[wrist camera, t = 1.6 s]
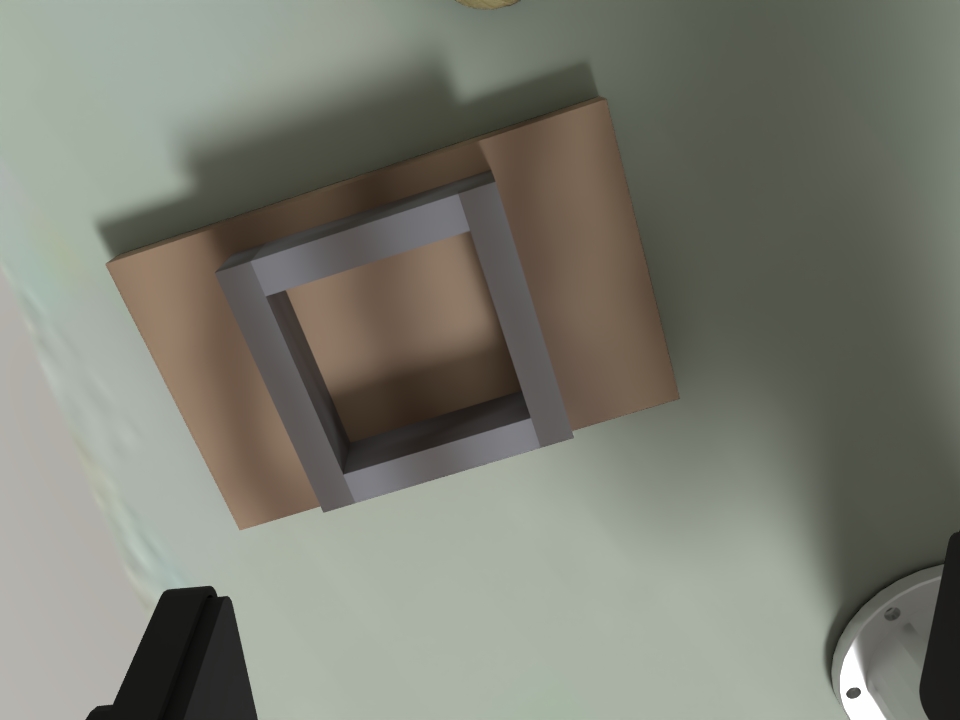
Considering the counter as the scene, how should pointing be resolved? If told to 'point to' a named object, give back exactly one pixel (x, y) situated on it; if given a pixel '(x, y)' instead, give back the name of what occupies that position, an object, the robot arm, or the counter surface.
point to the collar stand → (408, 318)
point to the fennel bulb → (487, 3)
